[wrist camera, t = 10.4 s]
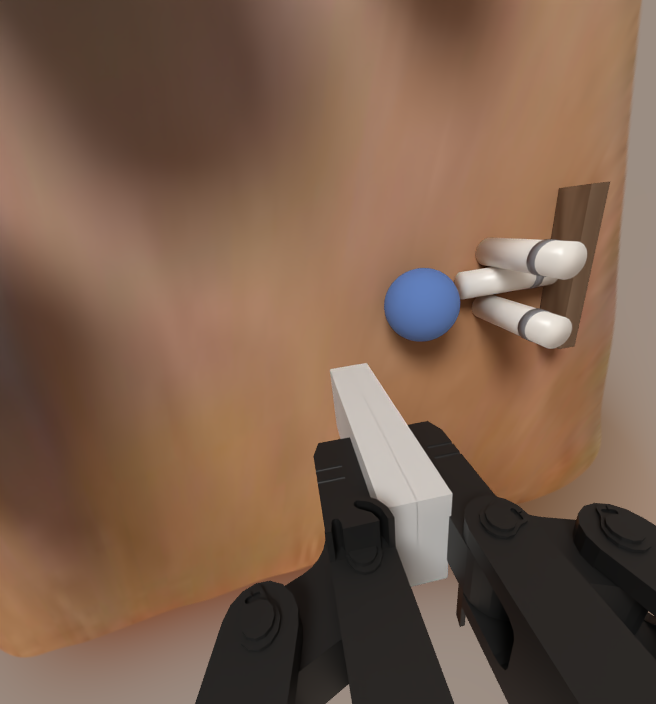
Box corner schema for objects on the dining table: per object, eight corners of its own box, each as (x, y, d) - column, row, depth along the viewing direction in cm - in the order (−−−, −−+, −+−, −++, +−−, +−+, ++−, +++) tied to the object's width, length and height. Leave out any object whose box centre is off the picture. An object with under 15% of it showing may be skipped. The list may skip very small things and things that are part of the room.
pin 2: (470, 319, 30) (537, 352, 22) (472, 294, 29) (543, 319, 21) (494, 315, 30) (569, 346, 22) (496, 290, 29) (575, 313, 22)
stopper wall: (535, 338, 32) (559, 349, 29) (559, 188, 27) (591, 183, 24) (549, 336, 32) (574, 346, 29) (576, 186, 27) (610, 181, 24)
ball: (468, 337, 26) (409, 320, 31) (479, 266, 24) (414, 258, 28) (429, 361, 23) (369, 339, 27) (437, 282, 20) (369, 271, 24)
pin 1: (473, 267, 28) (549, 282, 20) (476, 238, 27) (556, 243, 19) (499, 263, 28) (583, 277, 21) (502, 235, 27) (591, 238, 20)
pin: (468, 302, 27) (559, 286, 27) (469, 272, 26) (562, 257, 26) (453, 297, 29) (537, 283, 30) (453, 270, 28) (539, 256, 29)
